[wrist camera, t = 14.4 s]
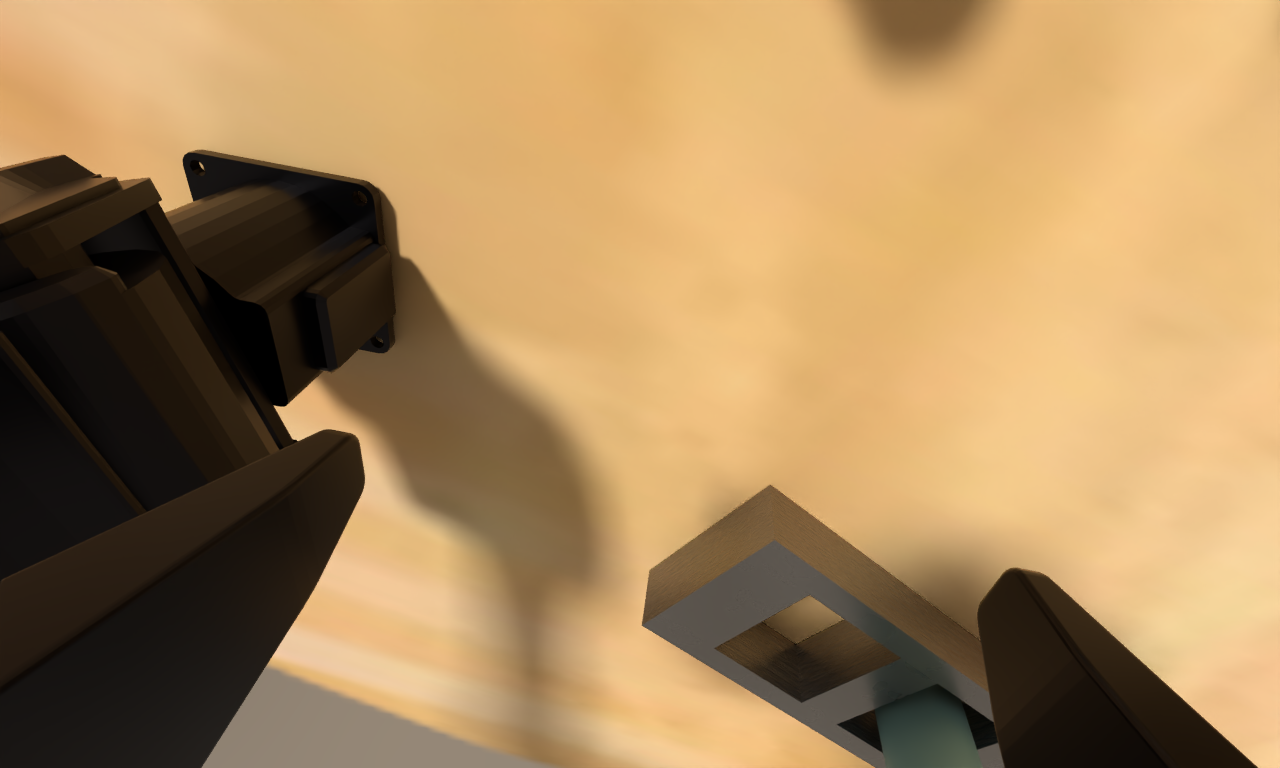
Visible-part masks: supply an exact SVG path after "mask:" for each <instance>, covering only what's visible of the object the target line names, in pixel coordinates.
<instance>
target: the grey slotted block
mask: <svg viewBox="0 0 1280 768" xmlns="http://www.w3.org/2000/svg"><path fill="white" fill-rule="evenodd" d="M808 595H811V596H812V597H813V598H815V599H816V600H818V601H819V602H821V603H822V604H824V605H825V606H826V607H828V608H829V609H831V610H832V611H834V612H835V613H837V614H838V615H839V616H841V617H842V618H844V619H845V620H843V621H841V622H839V623H837V624H835V625H833V626H831V627H830V628H828V629H826V630H824V631H822V632H820V633H818V634H816V635H814V636H812V637H810V638H808V639H806V640H804V641H802V642H800V643H798V644H794V643H792V642H791V641H789V640H788V639H786V638H785V637H783V636H782V635H780V634H779V633H777V632H776V631H774V630H773V629H771V628H770V627H768V626H767V625H765V624H763V623H762V621H764V620H765V619H767V618H769V617H771V616H773V615H774V614H776V613H778V612H780V611H782V610H783V609H785V608H787V607H789V606H791V605H792V604H794V603H796V602H798V601H799V600H801V599H803V598H805V597H807V596H808ZM642 626H643V627H645V628H647V629H648V630H650V631H652V632H653V633H655V634H657V635H658V636H660V637H662V638H663V639H665V640H667V641H668V642H670V643H671V644H673V645H675V646H676V647H678V648H680V649H681V650H683V651H685V652H686V653H688V654H690V655H691V656H693V657H694V658H696V659H698V660H699V661H701V662H703V663H704V664H706V665H708V666H709V667H711V668H713V669H714V670H716V671H718V672H719V673H721V674H722V675H724V676H726V677H727V678H729V679H731V680H732V681H734V682H736V683H737V684H739V685H741V686H742V687H744V688H745V689H747V690H749V691H750V692H752V693H754V694H755V695H757V696H759V697H760V698H762V699H764V700H765V701H767V702H769V703H770V704H772V705H773V706H775V707H777V708H778V709H780V710H782V711H783V712H785V713H787V714H788V715H790V716H792V717H793V718H795V719H797V720H798V721H800V722H801V723H803V724H805V725H806V726H808V727H810V728H811V729H813V730H815V731H816V732H818V733H820V734H821V735H823V736H824V737H826V738H828V739H829V740H831V741H833V742H834V743H836V744H838V745H839V746H841V747H843V748H844V749H846V750H848V751H849V752H851V753H852V754H854V755H856V756H857V757H859V758H861V759H862V760H864V761H866V762H867V763H869V764H871V765H872V766H874V767H875V768H886V765H885V760H884V755H883V750H882V745H881V740H880V735H879V730H878V725H877V720H876V715H875V710H874V709H876V708H878V707H881V706H883V705H886V704H888V703H891V702H893V701H896V700H898V699H901V698H903V697H905V696H908V695H910V694H913V693H915V692H918V691H920V690H923V689H925V688H928V687H930V686H933V685H935V684H939V685H941V686H942V687H943V688H945V689H946V690H948V691H949V692H951V693H952V694H953V695H955V696H956V697H958V698H959V699H961V702H962V705H963V708H964V711H965V714H966V717H967V720H968V723H969V726H970V729H971V733H972V736H973V739H974V742H975V745H976V748H977V751H978V754H979V757H980V760H981V763H982V767H983V768H1004V764H1003V760H1002V756H1001V752H1000V748H999V744H998V740H997V736H996V731H995V726H994V721H993V715H992V709H991V703H990V697H989V690H988V684H987V678H986V671H985V665H984V659H983V652H982V646H981V641H979V640H978V639H977V638H975V637H974V636H973V635H971V634H970V633H969V632H967V631H966V630H965V629H963V628H962V627H961V626H959V625H958V624H957V623H955V622H954V621H952V620H951V619H950V618H948V617H947V616H946V615H944V614H943V613H942V612H940V611H939V610H938V609H936V608H935V607H934V606H932V605H931V604H930V603H928V602H927V601H926V600H924V599H923V598H922V597H920V596H919V595H918V594H916V593H915V592H914V591H912V590H911V589H910V588H908V587H907V586H905V585H904V584H903V583H901V582H900V581H899V580H897V579H896V578H895V577H893V576H892V575H891V574H889V573H888V572H887V571H885V570H884V569H883V568H881V567H880V566H879V565H877V564H876V563H875V562H873V561H872V560H871V559H869V558H868V557H867V556H865V555H864V554H862V553H861V552H860V551H858V550H857V549H856V548H854V547H853V546H852V545H850V544H849V543H848V542H846V541H845V540H844V539H842V538H841V537H840V536H838V535H837V534H836V533H834V532H833V531H832V530H830V529H829V528H828V527H826V526H825V525H824V524H822V523H821V522H820V521H818V520H817V519H815V518H814V517H813V516H811V515H810V514H809V513H807V512H806V511H805V510H803V509H802V508H801V507H799V506H798V505H797V504H795V503H794V502H793V501H791V500H790V499H789V498H787V497H786V496H785V495H783V494H782V493H781V492H779V491H778V490H777V489H775V488H774V487H773V486H771V485H769V486H768V487H767V488H765V489H764V490H762V491H761V492H760V493H758V494H757V495H755V496H754V497H753V498H751V499H750V500H748V501H747V502H745V503H744V504H743V505H741V506H740V507H738V508H737V509H736V510H734V511H733V512H731V513H730V514H729V515H727V516H726V517H724V518H723V519H722V520H720V521H719V522H717V523H716V524H714V525H713V526H712V527H710V528H709V529H707V530H706V531H705V532H703V533H702V534H700V535H699V536H698V537H696V538H695V539H693V540H692V541H691V542H689V543H688V544H686V545H685V546H684V547H682V548H681V549H679V550H678V551H676V552H675V553H674V554H672V555H671V556H669V557H668V558H667V559H665V560H664V561H662V562H661V563H660V564H658V565H657V566H655V567H654V568H653V569H651V570H650V571H649V578H648V585H647V592H646V599H645V607H644V614H643V621H642Z"/></svg>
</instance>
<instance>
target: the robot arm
mask: <svg viewBox="0 0 1280 768" xmlns="http://www.w3.org/2000/svg"><path fill="white" fill-rule="evenodd" d="M199 162H200V163H201V164H202V165H203V166H204V168H205V171H204V170H203V169H202V168H201V166H200V164H199ZM183 166H184V170H185V174H186V177H187V181H188V184H189V188H190V191H191V195H192V198H193V202H192V203H189V204H187V205H184V206H182V207H179V208H177V209H174V210H171V211H169V212H166V213H164V211H163V210H162V208H161V206H160V204H159V203H158V202H159V201H161V200H162V199H161V197H160V195H159V193H158V191H157V190H156V188H155V186H154V184H153V183H152V181H151V179H150V178H141V179H132V180H124V181H118V179H117V178H116V177H106V178H102V176H101V175H100V174H97V175H95V174H94V173H92V172H91V171H89V170H87V169H86V168H84V167H83V166H81V165H80V164H78V163H77V162H75V161H73V160H72V159H70V158H69V157H67V156H66V155H59V156H51V157H44V158H40V159H36V160H31V161H27V162H23V163H19V164H15V165H11V166H7V167H2V168H0V768H202V766H203V764H204V763H205V761H206V760H207V758H208V757H209V755H210V753H211V752H212V750H213V749H214V747H215V746H216V744H217V742H218V741H219V739H220V738H221V736H222V734H223V733H224V731H225V730H226V728H227V727H228V725H229V723H230V722H231V720H232V719H233V717H234V716H235V714H236V713H237V711H238V709H239V708H240V706H241V705H242V703H243V702H244V700H245V698H246V697H247V695H248V694H249V692H250V691H251V689H252V687H253V686H254V684H255V683H256V681H257V680H258V678H259V676H260V675H261V673H262V672H263V670H264V668H265V667H266V665H267V664H268V662H269V661H270V659H271V657H272V656H273V654H274V653H275V651H276V650H277V648H278V646H279V645H280V643H281V642H282V640H283V639H284V637H285V635H286V634H287V632H288V631H289V629H290V628H291V626H292V624H293V623H294V621H295V620H296V618H297V617H298V615H299V613H300V612H301V610H302V609H303V607H304V605H305V604H306V602H307V600H308V599H309V597H310V595H311V594H312V592H313V590H314V588H315V587H316V585H317V583H318V581H319V579H320V577H321V575H322V573H323V571H324V569H325V567H326V565H327V563H328V561H329V559H330V557H331V555H332V553H333V551H334V549H335V547H336V545H337V543H338V541H339V539H340V537H341V535H342V533H343V531H344V529H345V527H346V525H347V523H348V521H349V519H350V517H351V515H352V513H353V511H354V509H355V506H356V504H357V502H358V500H359V498H360V496H361V494H362V492H363V489H364V484H365V473H364V467H363V461H362V455H361V448H360V443H359V440H358V438H357V437H356V436H355V435H353V434H351V433H346V432H341V431H336V430H331V429H326V430H322V431H320V432H317V433H315V434H313V435H311V436H309V437H307V438H305V439H302V440H300V441H297V440H293V439H292V438H291V436H290V434H289V432H288V431H287V429H286V427H285V425H284V423H283V422H282V420H281V418H280V416H279V415H278V413H277V411H276V409H275V408H274V406H273V405H275V406H280V407H281V406H286V405H287V404H289V403H290V402H291V401H292V400H293V399H294V398H295V397H296V396H297V395H298V394H299V393H300V392H301V391H302V390H304V389H305V388H306V387H307V386H308V385H309V384H310V383H311V382H312V381H313V380H314V379H315V378H316V377H318V376H319V375H320V374H321V373H322V372H323V371H325V372H330V373H332V372H334V371H336V370H337V369H338V368H340V367H341V366H342V365H343V364H344V363H345V362H346V361H347V360H348V359H349V358H350V357H351V356H352V355H353V354H354V353H355V352H356V351H357V350H358V349H360V350H365V351H370V352H375V353H385V352H387V351H388V350H389V349H390V348H391V347H392V346H393V345H394V342H395V336H394V327H393V316H394V315H395V313H396V309H395V299H394V289H393V279H392V269H391V259H390V252H389V251H388V249H387V248H386V246H385V240H384V230H383V220H382V210H381V201H380V196H379V192H378V191H377V189H376V188H375V186H373V185H372V184H371V183H370V182H367V181H364V180H360V179H354V178H349V177H344V176H339V175H333V174H328V173H323V172H317V171H312V170H307V169H302V168H296V167H291V166H286V165H280V164H275V163H270V162H265V161H259V160H254V159H249V158H243V157H238V156H233V155H228V154H222V153H217V152H212V151H206V150H195V151H192V152H189V153H187V154H185V155H184V157H183ZM358 191H360V192H362V193H363V194H364V195H365V196H366V199H367V203H365V202H363V201H362V200H361V199H360V198H359V195H358ZM376 336H377V337H379V338H381V339H382V340H383V343H382V342H380V341H379V340H378V339H377V338H376ZM977 619H978V627H979V633H980V640H981V646H982V652H983V659H984V665H985V671H986V678H987V684H988V690H989V697H990V703H991V709H992V715H993V721H994V726H995V731H996V736H997V740H998V744H999V748H1000V752H1001V756H1002V760H1003V764H1004V768H1258V767H1257V766H1256V765H1255V764H1253V763H1252V762H1251V761H1250V760H1249V759H1248V758H1247V757H1246V756H1245V755H1244V754H1243V753H1241V752H1240V751H1239V750H1238V749H1237V748H1236V747H1235V746H1234V745H1233V744H1232V743H1230V742H1229V741H1228V740H1227V739H1226V738H1225V737H1224V736H1223V735H1222V734H1221V733H1219V732H1218V731H1217V730H1216V729H1215V728H1214V727H1213V726H1212V725H1211V724H1210V723H1208V722H1207V721H1206V720H1205V719H1204V718H1203V717H1202V716H1201V715H1200V714H1199V713H1197V712H1196V711H1195V710H1194V709H1193V708H1192V707H1191V706H1190V705H1189V704H1188V703H1186V702H1185V701H1184V700H1183V699H1182V698H1181V697H1180V696H1179V695H1178V694H1177V693H1175V692H1174V691H1173V690H1172V689H1171V688H1170V687H1169V686H1168V685H1167V684H1166V683H1164V682H1163V681H1162V680H1161V679H1160V678H1159V677H1158V676H1157V675H1156V674H1155V673H1153V672H1152V671H1151V670H1150V669H1149V668H1148V667H1147V666H1146V665H1145V664H1144V663H1142V662H1141V661H1140V660H1139V659H1138V658H1137V657H1136V656H1135V655H1134V654H1133V653H1131V652H1130V651H1129V650H1128V649H1127V648H1126V647H1125V646H1124V645H1123V644H1122V643H1120V642H1119V641H1118V640H1117V639H1116V638H1115V637H1114V636H1113V635H1112V634H1111V633H1109V632H1108V631H1107V630H1106V629H1105V628H1104V627H1103V626H1102V625H1101V624H1100V623H1098V622H1097V621H1096V620H1095V619H1094V618H1093V617H1092V616H1091V615H1090V614H1089V613H1088V612H1086V611H1085V610H1084V609H1083V608H1082V607H1081V606H1080V605H1079V604H1078V603H1077V602H1075V601H1074V600H1073V599H1072V598H1071V597H1070V596H1069V595H1068V594H1067V593H1066V592H1064V591H1063V590H1062V589H1061V588H1060V587H1059V586H1058V585H1057V584H1056V583H1055V582H1053V581H1052V580H1051V579H1050V578H1049V577H1048V576H1046V575H1044V574H1042V573H1040V572H1035V571H1030V570H1025V569H1020V568H1010V569H1008V570H1006V571H1005V572H1004V573H1003V574H1002V575H1001V577H1000V578H999V579H998V580H997V582H996V583H995V584H994V586H993V587H992V588H991V589H990V591H989V592H988V593H987V595H986V596H985V597H984V598H983V600H982V601H981V603H980V605H979V608H978V616H977Z"/></svg>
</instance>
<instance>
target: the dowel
mask: <svg viewBox="0 0 1280 768" xmlns="http://www.w3.org/2000/svg"><path fill="white" fill-rule="evenodd" d="M874 710H875V715H876V720H877V725H878V730H879V735H880V740H881V745H882V750H883V755H884V760H885V765H886V768H983V767H982V763H981V760H980V757H979V754H978V751H977V748H976V745H975V742H974V739H973V736H972V733H971V729H970V726H969V723H968V720H967V717H966V714H965V711H964V708H963V705H962V702H961V699H959V698H958V697H956V696H955V695H953V694H952V693H951V692H949V691H948V690H946V689H945V688H943V687H942V686H941V685H939V684H935V685H933V686H930V687H928V688H925V689H923V690H920V691H918V692H915V693H913V694H910V695H908V696H905V697H903V698H901V699H898V700H896V701H893V702H891V703H888V704H886V705H883V706H881V707H878V708H876V709H874Z"/></svg>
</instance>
